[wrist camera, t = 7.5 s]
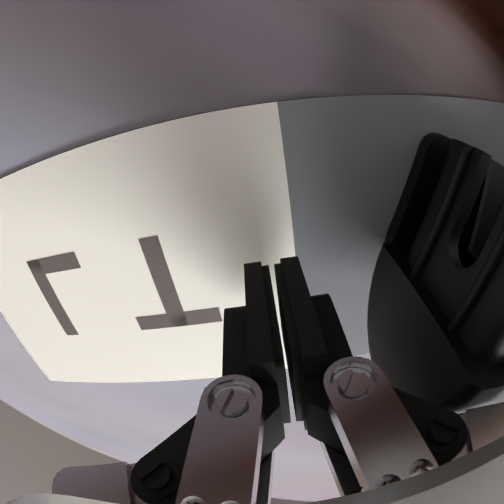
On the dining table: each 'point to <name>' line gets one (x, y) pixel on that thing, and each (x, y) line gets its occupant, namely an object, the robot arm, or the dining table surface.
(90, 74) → the dining table surface
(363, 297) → the mat
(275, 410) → the robot arm
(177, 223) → the board
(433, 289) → the end cap
